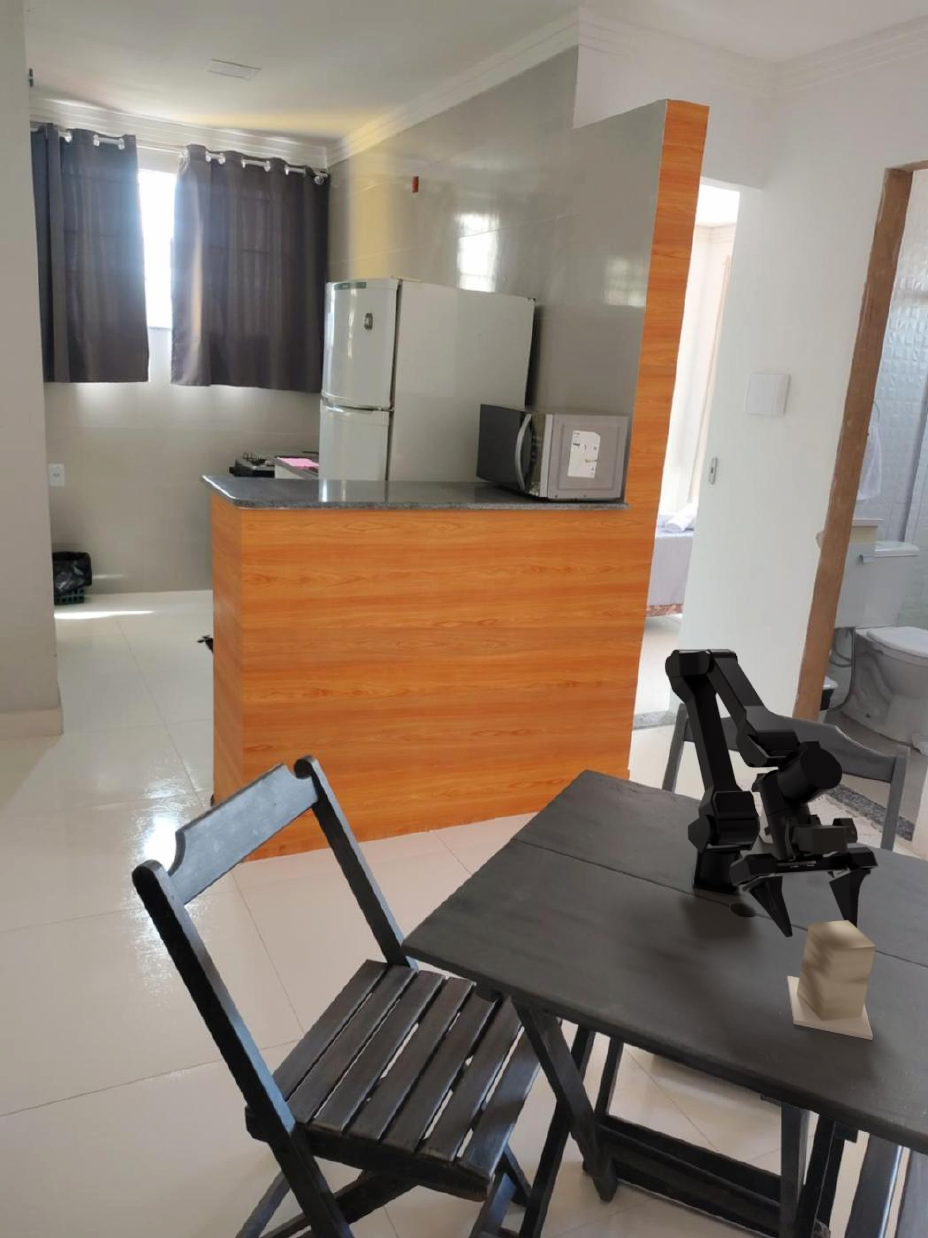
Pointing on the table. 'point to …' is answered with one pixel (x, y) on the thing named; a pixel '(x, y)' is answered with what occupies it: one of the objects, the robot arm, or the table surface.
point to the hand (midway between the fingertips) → (821, 934)
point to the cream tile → (809, 1019)
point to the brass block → (835, 970)
